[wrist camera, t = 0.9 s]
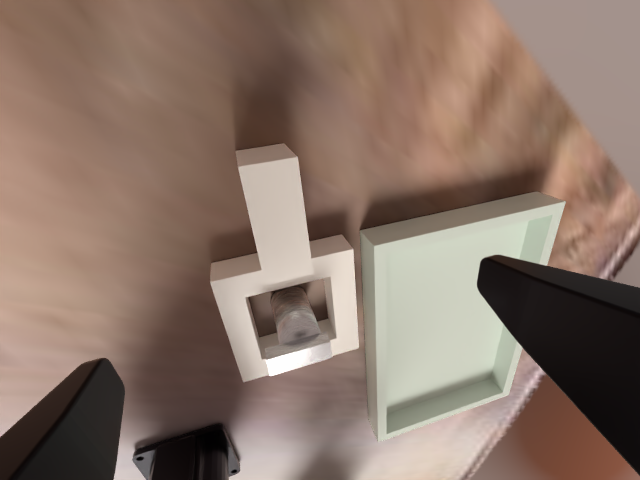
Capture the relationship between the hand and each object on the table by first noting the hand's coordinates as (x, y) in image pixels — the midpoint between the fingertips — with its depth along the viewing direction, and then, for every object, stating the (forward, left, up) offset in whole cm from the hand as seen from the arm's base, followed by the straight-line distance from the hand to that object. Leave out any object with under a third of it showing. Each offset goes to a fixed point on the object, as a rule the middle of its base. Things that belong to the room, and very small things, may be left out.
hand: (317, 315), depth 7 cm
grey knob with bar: (-8, 0, -11) cm, 14 cm away
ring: (-5, 0, -11) cm, 12 cm away
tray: (-14, -12, -11) cm, 21 cm away
